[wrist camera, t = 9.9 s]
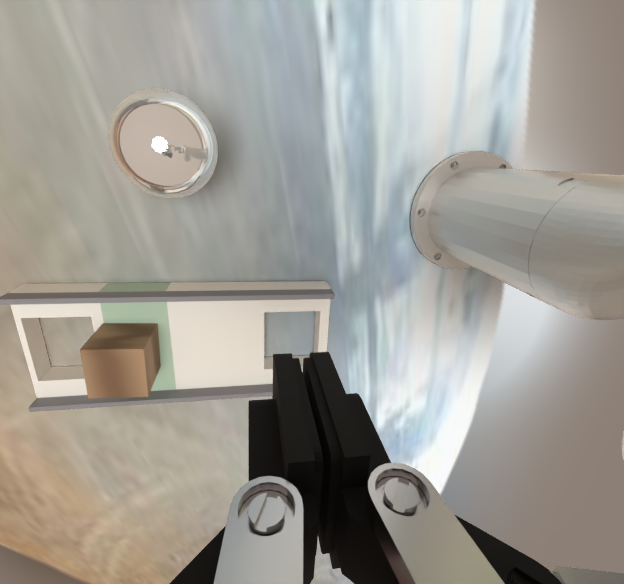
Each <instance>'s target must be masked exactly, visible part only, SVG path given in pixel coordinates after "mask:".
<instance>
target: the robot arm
mask: <svg viewBox="0 0 624 584" xmlns="http://www.w3.org/2000/svg"><path fill="white" fill-rule="evenodd" d="M451 164H452V166H451ZM419 210H420V212H419V213H418V211H419ZM410 225H411V231H412V236H413V239H414V241H415V244H416V246H417V247H418V249H419V250H420V252H421V253H422V254H423V255H424V256H425V257H426V258H427V259H428V260H430V261H432V262H433V263H435V264H437V265H439V266H441V267H444V268H449V269H465V268H470V267H474V268H476V269H478V270H480V271H483V272H485V273H487V274H489V275H491V276H493V277H495V278H497V279H499V280H501V281H503V282H505V283H507V284H509V285H511V286H513V287H515V288H517V289H519V290H521V291H523V292H525V293H527V294H529V295H531V296H533V297H535V298H537V299H539V300H541V301H543V302H545V303H547V304H549V305H552V306H554V307H556V308H558V309H560V310H562V311H564V312H566V313H569V314H572V315H575V316H578V317H582V318H587V319H596V320H612V319H622V318H624V175H611V174H593V173H575V172H555V171H537V170H518V169H513V168H512V167H511V166H510V164H509V163H508V162H506V161H505V160H504V159H503V158H501V157H499V156H497V155H495V154H493V153H489V152H483V151H470V152H464V153H460V154H457V155H454V156H452V157H449V158H448V159H446V160H444V161H443V162H441V163H440V164H439V165H437V166H436V167H435V168H434V169H433V170H432V171H431V172H430V173H429V174H428V175H427V177H426V178H425V179H424V180H423V182H422V184H421V185H420V187H419V189H418V191H417V193H416V196H415V198H414V201H413V204H412V210H411V221H410ZM434 255H435V256H434ZM622 456H623V460H624V431H623V437H622ZM317 537H319V542H320V548H321V552H322V554H326V553H329V554H330V559H331V564H332V569H336V568H341V572H342V574H343V575H344V576H346V577H347V578H348V579H350V580H351V581H352V582H353V583H354V584H624V573H615V572H607V571H598V570H597V571H596V570H589V569H579V568H571V567H561V566H555V568H554V570H553V571H549V570H548V569H547V568H545V567H544V566H542V565H541V564H539V563H538V562H537V561H535V560H533V559H532V558H530V557H528V556H526V555H525V554H523V553H521V552H519V551H517V550H516V549H514V548H512V547H510V546H509V545H507V544H505V543H503V542H502V541H500V540H498V539H496V538H495V537H493V536H491V535H489V534H487V533H486V532H484V531H482V530H481V529H479V528H477V527H475V526H473V525H472V524H470V523H468V522H466V521H464V520H463V519H461V518H459V517H458V516H456V515H454V514H453V512H452V511H451V510H450V508H449V507H448V506H447V504H446V503H445V502H444V500H443V499H442V497H441V496H440V495H439V493H438V492H437V490H436V489H435V488H434V486H433V485H432V484H431V482H430V481H429V480H428V479H427V478H426V477H425V476H424V475H423V474H422V473H420V472H419V471H417V470H416V469H414V468H412V467H410V466H407V465H405V464H399V463H391V462H390V460H389V458H388V455H387V453H386V451H385V449H384V447H383V445H382V442H381V440H380V438H379V436H378V434H377V432H376V429H375V427H374V425H373V423H372V421H371V419H370V416H369V414H368V412H367V410H366V408H365V406H364V404H363V401H362V399H361V397H360V396H359V394H357V393H355V394H346V393H345V390H344V388H343V385H342V383H341V381H340V378H339V376H338V373H337V371H336V368H335V366H334V363H333V361H332V358H331V356H330V354H329V352H313V353H310V356H309V357H308V358H304V359H303V372H302V368H301V364H300V360H299V358H293V357H292V354H273V399H267V400H252V401H249V482H248V483H246V484H245V485H244V486H242V487H241V488H240V489H239V490H238V492H237V493H236V494H235V496H234V498H233V500H232V503H231V505H230V509H229V514H228V518H227V523H226V526H225V527H224V528H223V529H222V530H221V531H220V532H219V533H218V535H217V536H216V537H215V538H214V539H213V540H212V541H211V542H210V543H209V544H208V545H207V546H206V547H205V548H204V549H203V550H202V551H201V552H200V553H199V554H198V555H197V556H196V557H195V558H194V559H193V560H192V561H191V562H190V563H189V564H188V565H187V566H186V567H185V568H184V569H183V570H182V571H181V572H180V573H179V574H178V576H177V577H176V578H175V579H174V580H173V581H172V582H171V583H170V584H310V583H311V581H312V579H313V577H314V565H315V555H316V549H317Z"/></svg>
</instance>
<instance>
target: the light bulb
mask: <svg viewBox="0 0 624 584" xmlns="http://www.w3.org/2000/svg"><path fill="white" fill-rule="evenodd" d="M108 142H109V148H110V151H111V154H112V157H113V159H114V161H115V163H116V165H117V167H118V168H119V170H120V171H121V172H122V173H123V175H124V176H125V177H126V178H127V179H128V180H129V181H130V182H131V183H132V184H134V185H135V186H136V187H138V188H139V189H141V190H143V191H144V192H147V193H149V194H151V195H154V196H158V197H163V198H178V197H184V196H188V195H190V194H193V193H195V192H196V191H198V190H199V189H201V188H202V187H203V186H204V185H205V184H206V183H207V182H208V181H209V179H210V178H211V176H212V175H213V173H214V170H215V167H216V164H217V158H218V144H217V139H216V135H215V132H214V130H213V127H212V125H211V123H210V121H209V120H208V118H207V117H206V115H205V114H204V112H203V111H202V110H201V109H200V108H199V107H198V106H197V105H196V104H195V103H193V102H192V101H191V100H189V99H188V98H186V97H184V96H183V95H181V94H179V93H176V92H173V91H169V90H166V89H159V88H149V89H142V90H139V91H137V92H134V93H132V94H130V95H129V96H127V97H126V98H124V99H123V100H122V101H121V103H120V104H119V105H118V106H117V107H116V109H115V111H114V112H113V114H112V116H111V119H110V123H109V127H108Z"/></svg>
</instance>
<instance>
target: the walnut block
mask: <svg viewBox="0 0 624 584" xmlns="http://www.w3.org/2000/svg"><path fill="white" fill-rule="evenodd" d="M80 353H81V359H82V365H83V371H84V377H85V383H86V389H87V395H88V399H91V398H122V397H148V396H149V393H150V391H151V389H152V386H153V384H154V381H155V379H156V377H157V374H158V372H159V369H160V367H161V362H160V349H159V336H158V323H103V324H102V325H101V326H100V327H99V328H98V329H97V331H96V332H95V333H94V334H93V335H92V336H91V337H90V339H89V340H88V341H87V342H86V343H85V344H84V346H83V347H82V348H81V349H80Z"/></svg>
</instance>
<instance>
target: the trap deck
mask: <svg viewBox="0 0 624 584" xmlns="http://www.w3.org/2000/svg"><path fill="white" fill-rule="evenodd" d="M330 299H334V293H333V291H332V289H331V288H330V286H329V285H328V283H327V281H288V282H171V283H53V284H22V285H21V286H19V287H17V288H15V289H14V290H12V291H10V292H8V293H7V294H5V295H3V296H1V297H0V305H11V308H12V312H13V315H14V319H15V322H16V326H17V329H18V333H19V336H20V340H21V343H22V347H23V350H24V354H25V357H26V361H27V364H28V368H29V371H30V375H31V378H32V382H33V385H34V389H35V392H36V396H37V399H36V400H35V401H34V402H33V403H32V404H31V406H30V407H29V411H30V412H35V411H50V410H65V409H80V408H95V407H111V406H126V405H141V404H156V403H171V402H186V401H201V400H216V399H232V398H247V397H262V396H273V357H264V312H297V311H316V316H315V333H314V349H313V352H327V339H328V325H329V312H330ZM88 316H91V318H92V323H93V328H94V333H95V332H96V331H97V329H98V328H99V327H100V326H101V325H102V324H103V323H158V336H159V349H160V362H161V367H160V369H159V372H158V374H157V377H156V379H155V381H154V384H153V386H152V389H151V391H150V393H149V396H148V397H122V398H91V399H88V395H87V389H86V383H85V377H84V371H83V366H66V367H51V365H50V361H49V357H48V353H47V349H46V345H45V342H44V338H43V334H42V330H41V326H40V322H39V318H46V317H88ZM309 356H310V355H303V356H292V357H293V358H299V360H300V364H301V368H302V372H303V359H304V358H308V357H309Z"/></svg>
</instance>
